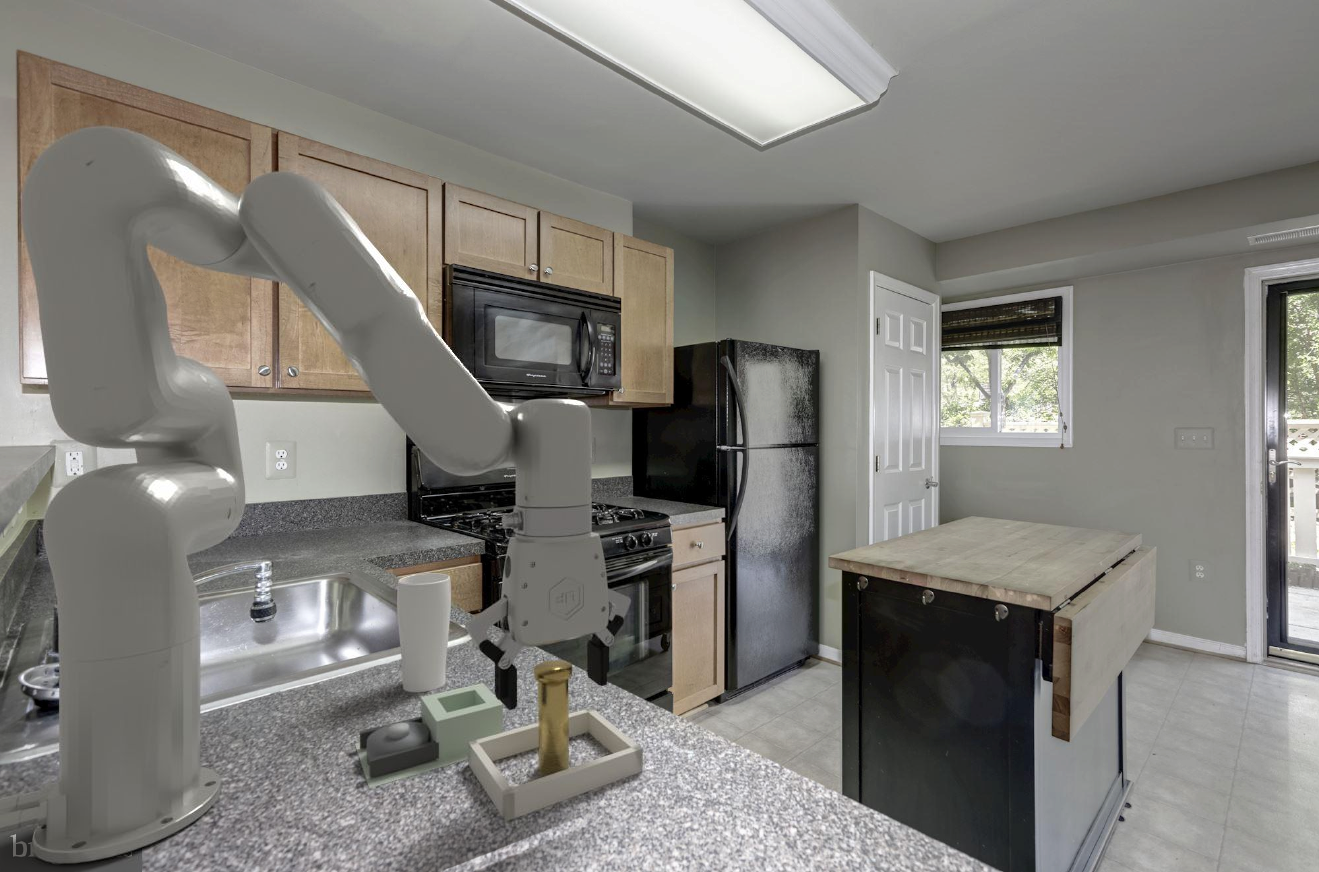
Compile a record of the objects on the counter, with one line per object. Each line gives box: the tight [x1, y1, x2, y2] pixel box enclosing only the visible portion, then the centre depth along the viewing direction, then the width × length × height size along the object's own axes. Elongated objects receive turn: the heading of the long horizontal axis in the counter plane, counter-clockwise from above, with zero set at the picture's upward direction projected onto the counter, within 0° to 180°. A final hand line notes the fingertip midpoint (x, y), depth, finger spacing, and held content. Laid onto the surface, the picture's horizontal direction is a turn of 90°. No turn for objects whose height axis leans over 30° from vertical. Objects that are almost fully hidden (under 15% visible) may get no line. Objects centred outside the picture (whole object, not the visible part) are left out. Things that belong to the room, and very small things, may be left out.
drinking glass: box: [396, 572, 452, 693], centre depth 81 cm, size 7×7×15 cm
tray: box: [467, 707, 644, 822], centre depth 60 cm, size 14×11×3 cm
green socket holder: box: [354, 682, 504, 789], centre depth 65 cm, size 14×10×5 cm
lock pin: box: [533, 660, 573, 776], centre depth 61 cm, size 4×4×10 cm
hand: (554, 692), depth 60 cm, fingers open, 9 cm apart
